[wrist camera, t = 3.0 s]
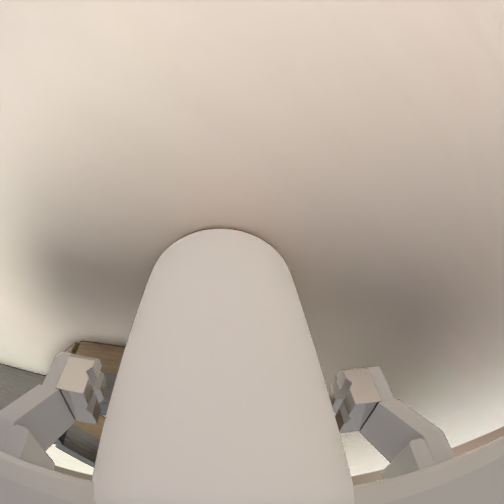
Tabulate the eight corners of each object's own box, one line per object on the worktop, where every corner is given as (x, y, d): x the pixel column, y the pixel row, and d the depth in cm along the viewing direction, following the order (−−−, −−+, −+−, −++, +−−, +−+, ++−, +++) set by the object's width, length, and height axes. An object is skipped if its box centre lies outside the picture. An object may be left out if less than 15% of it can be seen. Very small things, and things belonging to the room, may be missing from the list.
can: (246, 356, 17) (267, 582, 6) (132, 309, 15) (70, 558, 4) (319, 265, 14) (430, 539, 4) (188, 196, 12) (101, 560, 2)
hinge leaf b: (193, 353, 16) (188, 414, 13) (195, 437, 21) (194, 483, 17) (-30, 317, 15) (-59, 356, 11) (15, 403, 19) (0, 439, 16)
